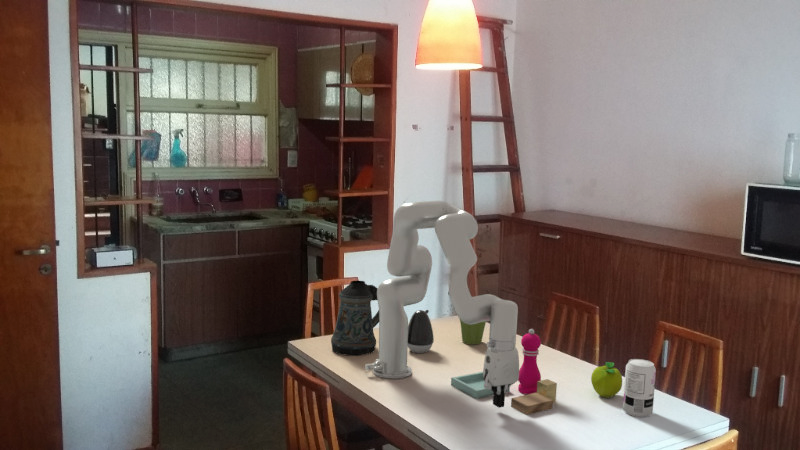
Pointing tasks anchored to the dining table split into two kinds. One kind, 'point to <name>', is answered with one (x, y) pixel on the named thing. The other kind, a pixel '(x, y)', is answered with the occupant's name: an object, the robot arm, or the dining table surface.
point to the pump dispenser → (420, 332)
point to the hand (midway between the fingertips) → (498, 405)
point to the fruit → (606, 380)
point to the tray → (472, 385)
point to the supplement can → (639, 388)
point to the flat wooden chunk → (532, 403)
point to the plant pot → (472, 332)
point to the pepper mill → (529, 364)
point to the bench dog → (547, 389)
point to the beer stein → (355, 320)
